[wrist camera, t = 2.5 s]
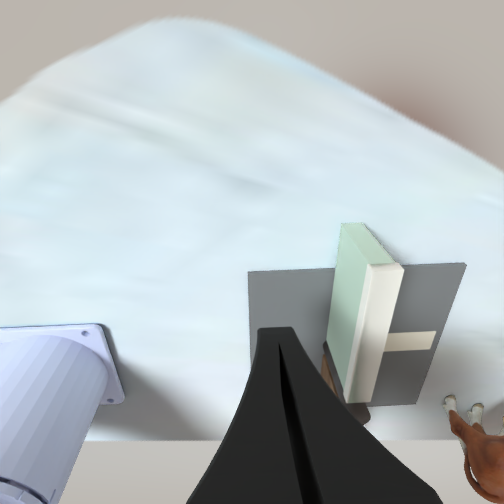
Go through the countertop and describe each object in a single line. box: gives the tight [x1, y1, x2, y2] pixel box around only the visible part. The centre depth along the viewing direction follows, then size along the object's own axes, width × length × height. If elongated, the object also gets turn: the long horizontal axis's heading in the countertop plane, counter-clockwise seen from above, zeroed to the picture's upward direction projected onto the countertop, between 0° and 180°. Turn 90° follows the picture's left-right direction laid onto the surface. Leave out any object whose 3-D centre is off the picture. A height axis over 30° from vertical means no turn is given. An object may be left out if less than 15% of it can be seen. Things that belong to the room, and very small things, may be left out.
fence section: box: [321, 340, 371, 425], centre depth 23 cm, size 1×9×6 cm, turn 1°
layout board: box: [248, 263, 467, 407], centre depth 24 cm, size 14×14×1 cm
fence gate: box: [326, 223, 404, 403], centre depth 18 cm, size 9×1×5 cm, turn 1°
